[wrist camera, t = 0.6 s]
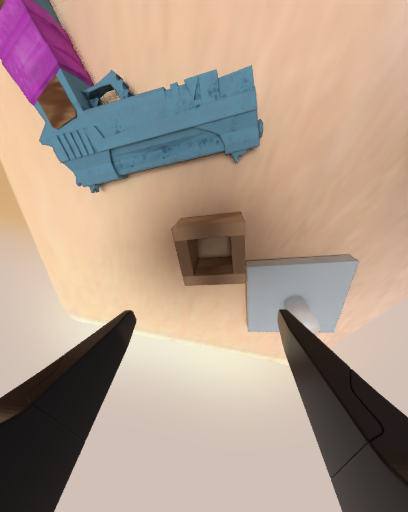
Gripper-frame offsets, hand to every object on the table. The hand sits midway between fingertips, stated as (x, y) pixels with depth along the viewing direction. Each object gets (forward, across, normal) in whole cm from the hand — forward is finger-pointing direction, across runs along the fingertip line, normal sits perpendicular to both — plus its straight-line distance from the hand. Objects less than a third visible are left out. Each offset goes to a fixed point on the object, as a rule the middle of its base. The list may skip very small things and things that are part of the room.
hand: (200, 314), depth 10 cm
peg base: (+12, -10, +9) cm, 18 cm away
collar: (+12, 0, 0) cm, 12 cm away
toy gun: (+12, +5, -15) cm, 20 cm away
